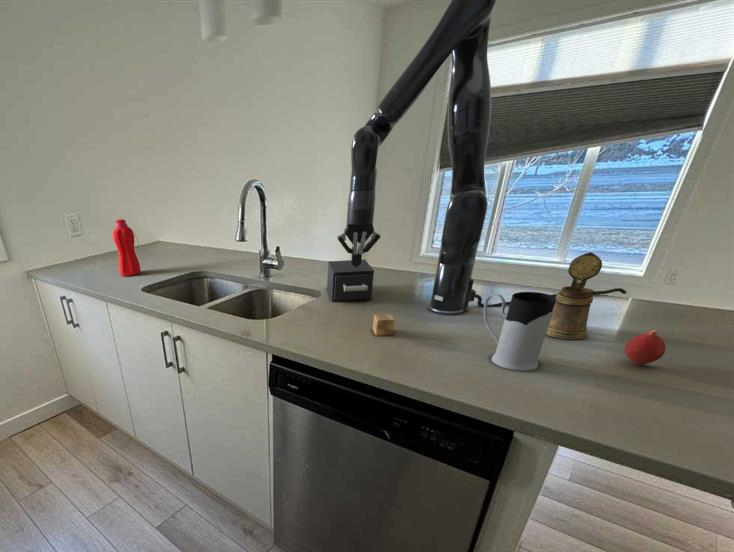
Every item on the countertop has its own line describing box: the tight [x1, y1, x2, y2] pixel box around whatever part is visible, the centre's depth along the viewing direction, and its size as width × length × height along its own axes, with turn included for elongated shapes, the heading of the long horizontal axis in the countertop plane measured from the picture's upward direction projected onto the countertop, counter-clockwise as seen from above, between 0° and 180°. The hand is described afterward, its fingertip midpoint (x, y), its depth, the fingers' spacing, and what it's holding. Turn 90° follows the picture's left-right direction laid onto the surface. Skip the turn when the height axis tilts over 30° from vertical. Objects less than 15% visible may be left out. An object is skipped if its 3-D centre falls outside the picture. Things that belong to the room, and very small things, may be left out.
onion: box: [624, 329, 666, 367], centre depth 83 cm, size 6×6×8 cm
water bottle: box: [112, 218, 141, 277], centre depth 189 cm, size 9×11×25 cm
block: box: [372, 313, 395, 336], centre depth 109 cm, size 4×4×4 cm
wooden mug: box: [546, 251, 603, 340], centre depth 98 cm, size 9×14×18 cm, turn 139°
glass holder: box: [483, 291, 557, 372], centre depth 89 cm, size 9×14×15 cm, turn 24°
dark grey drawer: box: [334, 274, 374, 300], centre depth 136 cm, size 19×12×8 cm, turn 173°
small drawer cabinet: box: [326, 258, 375, 302], centre depth 140 cm, size 16×13×10 cm
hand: (355, 266), depth 126 cm, fingers closed
